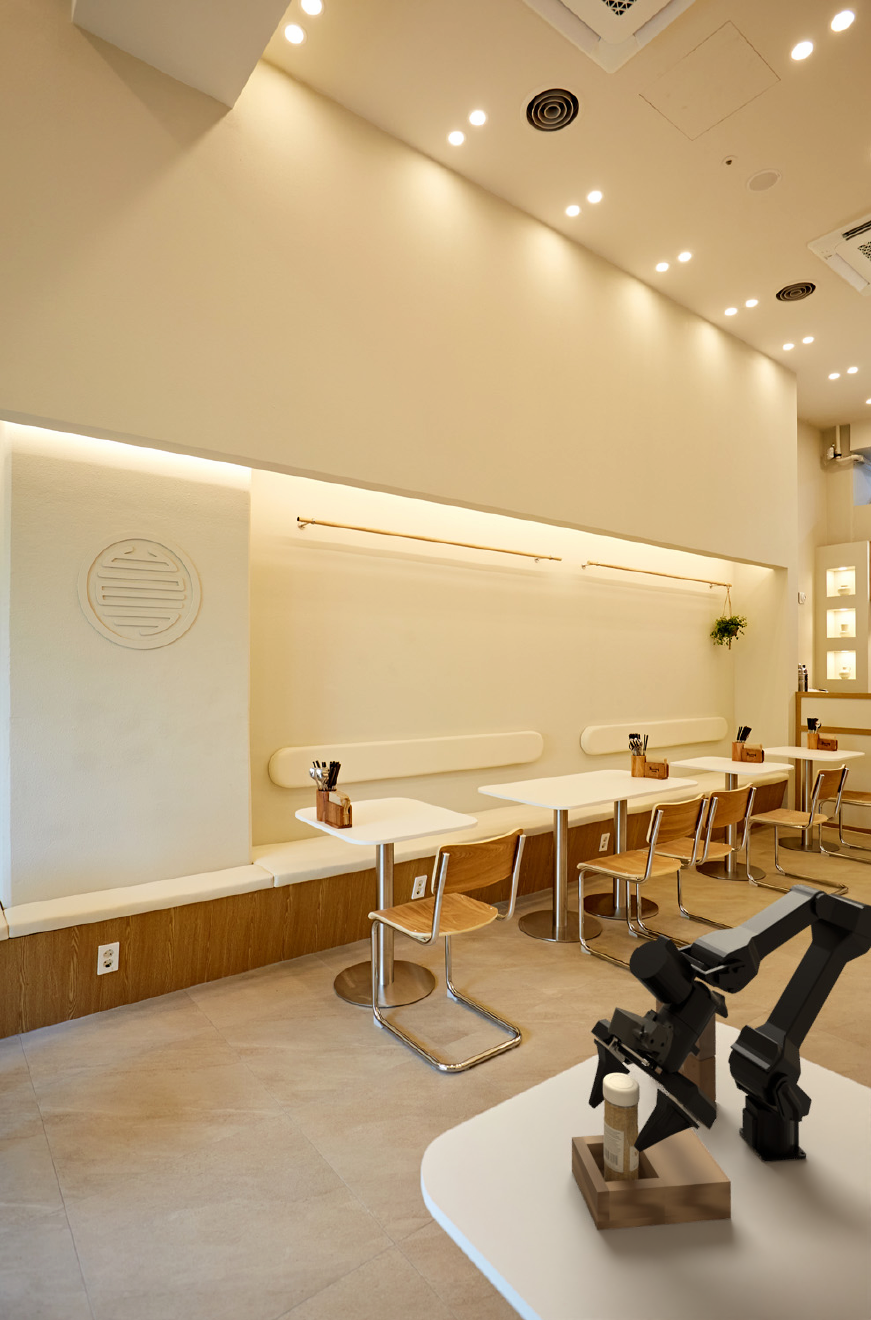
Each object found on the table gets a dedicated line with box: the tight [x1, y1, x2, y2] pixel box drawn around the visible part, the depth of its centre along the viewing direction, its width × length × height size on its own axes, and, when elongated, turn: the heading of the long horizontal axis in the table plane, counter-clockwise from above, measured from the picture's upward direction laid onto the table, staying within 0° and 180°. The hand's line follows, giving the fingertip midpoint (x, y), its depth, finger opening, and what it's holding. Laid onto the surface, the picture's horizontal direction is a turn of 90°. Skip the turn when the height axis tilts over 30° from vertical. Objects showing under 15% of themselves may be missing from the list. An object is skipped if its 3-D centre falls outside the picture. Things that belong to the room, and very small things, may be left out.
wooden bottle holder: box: [571, 1128, 732, 1231], centre depth 89 cm, size 17×10×4 cm, turn 96°
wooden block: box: [655, 998, 717, 1103], centre depth 113 cm, size 4×11×18 cm, turn 26°
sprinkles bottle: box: [603, 1073, 641, 1182], centre depth 89 cm, size 5×5×14 cm
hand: (612, 1127), depth 88 cm, fingers open, 9 cm apart
